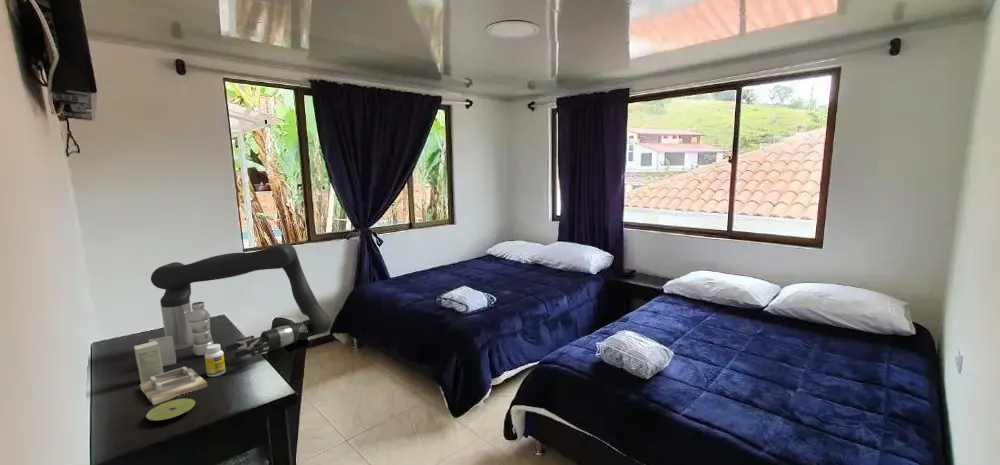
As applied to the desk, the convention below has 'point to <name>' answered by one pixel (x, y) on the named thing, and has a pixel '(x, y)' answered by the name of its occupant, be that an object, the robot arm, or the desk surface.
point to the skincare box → (148, 360)
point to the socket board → (172, 384)
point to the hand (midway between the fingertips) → (229, 352)
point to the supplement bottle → (214, 360)
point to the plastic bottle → (200, 328)
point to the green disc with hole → (170, 409)
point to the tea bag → (166, 350)
